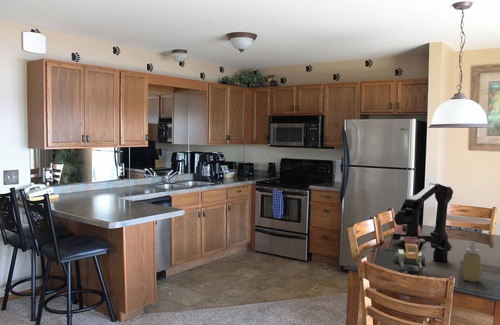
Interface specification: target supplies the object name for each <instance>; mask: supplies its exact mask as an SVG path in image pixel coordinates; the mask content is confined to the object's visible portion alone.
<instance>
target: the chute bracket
mask: <svg viewBox="0 0 500 325" xmlns="http://www.w3.org/2000/svg"><path fill="white" fill-rule="evenodd" d="M399 265H400V270H401V271H409V272H418V273H419V272H421V273H423V264H422V265H421V262H420V261H418V264H411V263H403V260H400V263H399Z"/></svg>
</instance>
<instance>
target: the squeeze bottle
mask: <svg viewBox="0 0 500 325" xmlns="http://www.w3.org/2000/svg"><path fill="white" fill-rule="evenodd" d="M461 265H462V266H461V274H462V277H463V280H464V281H466V282H469V283H470V282H471V283H476V282H477V283H478V282H479V280H480V277H481V276H482V264H481V255H480V254H479V250H478V249H477V248H476V245H475V241H474V240H473V241H472V240H471V241H470V244H469V247H468V248H466V252H464V254H463V259H462V264H461Z"/></svg>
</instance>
